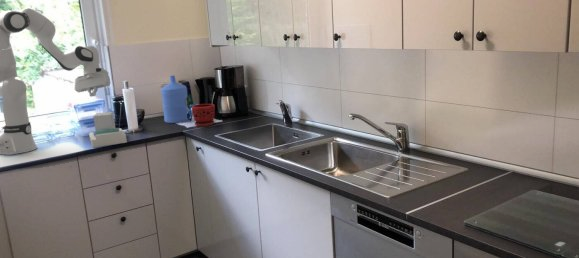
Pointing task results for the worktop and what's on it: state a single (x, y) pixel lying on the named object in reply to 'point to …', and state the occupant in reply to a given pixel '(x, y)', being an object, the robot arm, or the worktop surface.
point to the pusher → (107, 131)
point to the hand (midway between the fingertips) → (92, 95)
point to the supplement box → (104, 121)
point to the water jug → (174, 102)
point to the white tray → (108, 138)
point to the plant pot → (203, 114)
